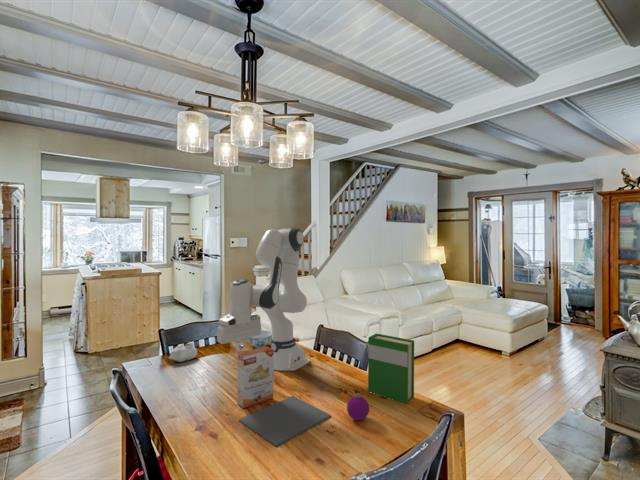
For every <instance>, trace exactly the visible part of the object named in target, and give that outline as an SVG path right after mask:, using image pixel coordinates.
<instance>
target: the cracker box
mask: <svg viewBox="0 0 640 480" xmlns="http://www.w3.org/2000/svg"><path fill="white" fill-rule="evenodd" d="M236 366H237V368H236V369H237V372H236V373H237V375H236V377H237V378H236V381H237V383H236V385H237V387H236V389H237V390H236V404H237V405H238V406H239V407H241V408H242V409H246V408H249V407H252V406H255V405H258V404H260V403H263V402H266V401H270V400H273V398H274V371H275V370H274V349H272V348H271V347H270V346H267V345H265V347H261V348H252V349H249V350H245V351H240V352H237V365H236Z"/></svg>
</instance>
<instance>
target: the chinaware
mask: <svg viewBox="0 0 640 480" xmlns="http://www.w3.org/2000/svg"><path fill="white" fill-rule="evenodd" d="M271 339H272V331H271V330H270V331H269V330H261V334H260V335H258V336H254V337H250V338H247V340H248V342H249V343H250V344H251V345H252V346H253V347H254V349H257V348H261V347H265V346H267V345H268V344H269V343H270V342H271Z"/></svg>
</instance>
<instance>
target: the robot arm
mask: <svg viewBox="0 0 640 480" xmlns="http://www.w3.org/2000/svg"><path fill="white" fill-rule="evenodd" d="M304 238H305V237H304V233H303V231H302V230H301V229H299V228H282V229H273V228H270V229H268V230H266V231H265V233H264V234H263V236H261V239H260V241H259V243H258V246H257V248H256V250H255V257H256V260H257V261H258V262H259V264H261V265H262V266H263V267H264V268H267V269H269V270H270V271H269V279H268V283H267V284H265V285H259V284H258V285H257V284H252V283H250V281H249V280H248V279H245V278H241V279H235V280H233V281H232V282H231V283H230V289H229V304H230V307H229V313H228V314H226V315H224V316H222V317H220V318H219V320H218V324H219V325H218V327H217V333H216V339H217V342H218V343H219V344H221V345H225V344H229V343H234V345H235V346H236V347H235V348H236V351H240V350H244V349H245V345H246V343H247V341H248V338H250V337H254V336H258V335H260V334H261V331H262V324H261V316H260V315H259V314H257V313H256V314H252V313H251V312H252V310H251V307H253V308H254V307H256V308H260V309H261V310H262V311H264V312H265V314H266V315H267V317H268V319H269V321H270V325H271V332H272V337H271V340H270V348H272V349H274V370H273V371H281V372H283V371H284V372H285V371H289V372H290V371H292V372H293V371H296V370H298V369H300V368H302V367H304V366H305V365H307V364H309V362H310V363H311V360H310V359H309V358H308V357H306V351H305V350H304V349H303V348H302V347H301V346H299V345H298V344H297V343H299V342H300V338H299V337H294V324H293V322H292V321H291V320H290V319H289V318H288V317H286V316H285V313H286V314H287V313H291V314H299V313H301V312H302V313H303V311H305V309H306V307H307V303H308V300H307V296H306V295H305V294H304V293H303V292H302V291H301V289H300V287H299V285H298V275H299V274H298V271H299V266H300V252H299V251H300V249H301V247H302V246H303V244H304ZM279 255H280V256H279ZM280 285H282V286H283V287H284V289H283V290H280ZM251 314H252V315H251ZM240 341H241V343H240ZM239 343H240V344H239Z"/></svg>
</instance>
